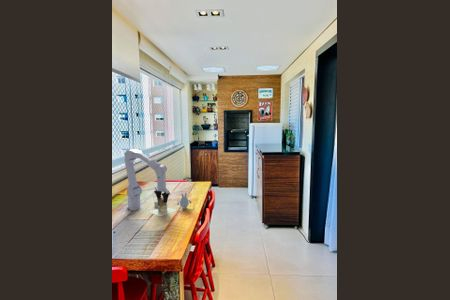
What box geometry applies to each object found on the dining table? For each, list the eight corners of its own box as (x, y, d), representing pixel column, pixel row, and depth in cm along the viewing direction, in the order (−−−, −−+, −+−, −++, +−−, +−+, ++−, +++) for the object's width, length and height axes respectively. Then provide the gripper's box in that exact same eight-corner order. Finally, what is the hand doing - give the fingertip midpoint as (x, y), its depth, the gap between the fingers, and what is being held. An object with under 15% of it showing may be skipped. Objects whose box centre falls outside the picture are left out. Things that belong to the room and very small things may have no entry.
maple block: (158, 211, 167) (158, 205, 167) (163, 209, 171) (163, 203, 170) (161, 212, 164) (161, 206, 164) (167, 210, 168) (167, 204, 167)
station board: (148, 212, 167) (148, 211, 167) (165, 206, 178) (165, 206, 177) (159, 217, 158) (159, 216, 158) (177, 211, 168) (176, 210, 168)
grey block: (154, 207, 177) (154, 201, 176) (158, 205, 181) (158, 199, 180) (159, 208, 175) (159, 202, 174) (163, 206, 179) (163, 200, 178)
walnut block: (157, 205, 167) (157, 199, 166) (163, 203, 170) (162, 197, 170) (161, 206, 164) (160, 200, 163) (166, 204, 167) (166, 198, 167)
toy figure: (190, 206, 177) (190, 191, 175) (192, 209, 171) (192, 193, 170) (176, 209, 173) (175, 193, 171) (178, 212, 167) (177, 195, 166)
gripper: (150, 182, 167) (151, 200, 169) (162, 185, 157) (163, 205, 159) (159, 180, 172) (160, 198, 174) (171, 183, 163) (172, 202, 164)
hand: (162, 201), depth 167 cm, fingers open, 7 cm apart
